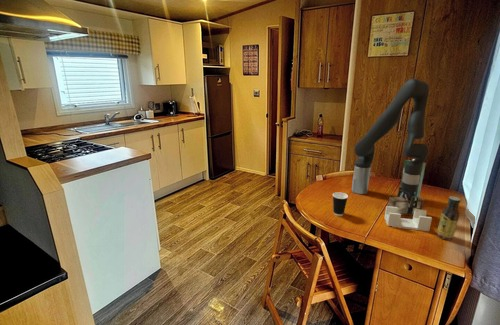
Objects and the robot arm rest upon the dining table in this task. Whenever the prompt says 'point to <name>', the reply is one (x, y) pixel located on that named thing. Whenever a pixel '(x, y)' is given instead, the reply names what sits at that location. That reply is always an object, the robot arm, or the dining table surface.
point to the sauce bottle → (449, 219)
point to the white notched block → (416, 223)
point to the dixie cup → (339, 203)
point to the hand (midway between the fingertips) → (405, 209)
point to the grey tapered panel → (404, 205)
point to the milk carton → (419, 179)
